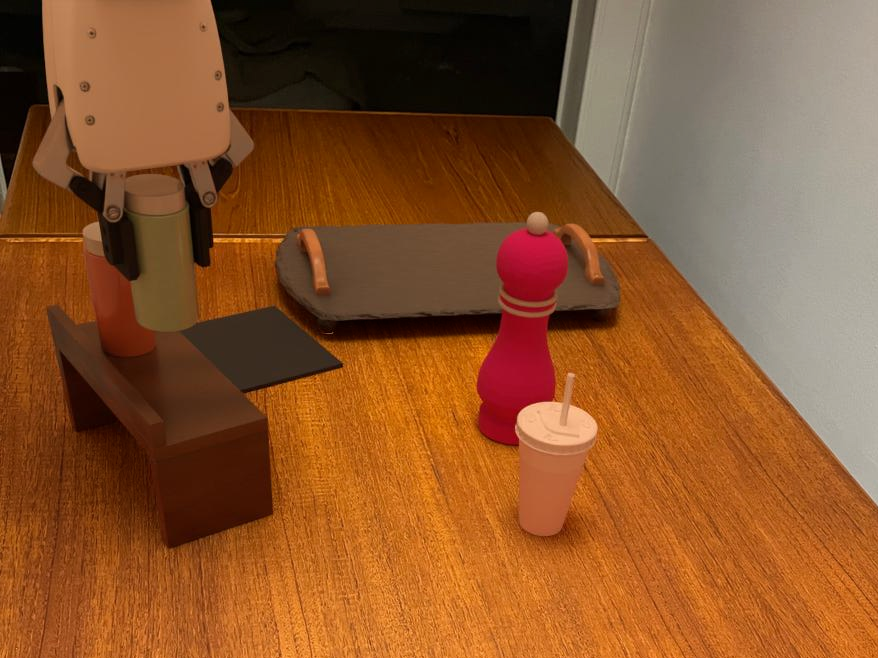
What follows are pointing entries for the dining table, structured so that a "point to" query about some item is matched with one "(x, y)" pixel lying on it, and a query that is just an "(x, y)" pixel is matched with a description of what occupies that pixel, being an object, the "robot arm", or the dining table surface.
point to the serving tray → (425, 271)
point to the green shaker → (162, 253)
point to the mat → (260, 348)
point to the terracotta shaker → (113, 302)
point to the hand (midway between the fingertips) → (161, 263)
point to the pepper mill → (522, 329)
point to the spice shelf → (173, 426)
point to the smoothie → (551, 460)
